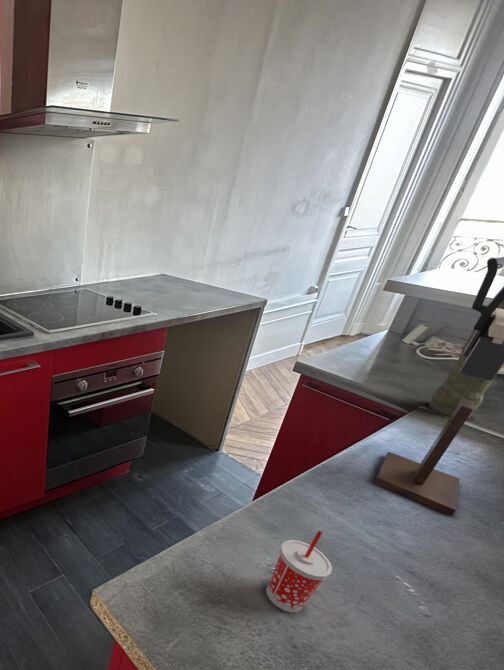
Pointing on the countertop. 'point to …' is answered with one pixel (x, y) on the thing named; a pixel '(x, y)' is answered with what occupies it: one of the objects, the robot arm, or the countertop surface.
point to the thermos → (460, 386)
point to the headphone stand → (427, 469)
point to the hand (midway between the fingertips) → (487, 348)
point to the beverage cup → (297, 574)
